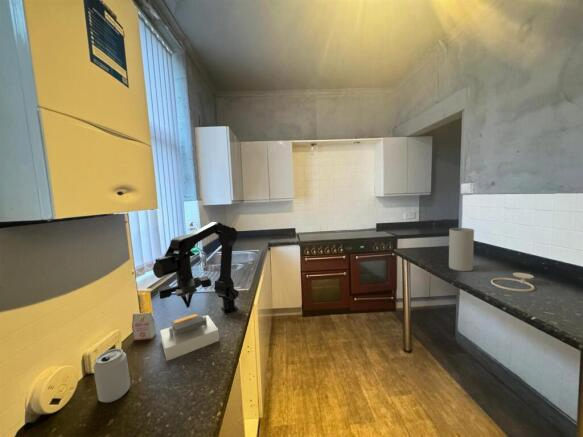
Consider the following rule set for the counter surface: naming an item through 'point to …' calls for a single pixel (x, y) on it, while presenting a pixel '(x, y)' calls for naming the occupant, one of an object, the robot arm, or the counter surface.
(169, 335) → the breaker housing
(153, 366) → the counter surface
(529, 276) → the hand towel holder
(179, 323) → the rocker switch
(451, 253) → the cylinder vase
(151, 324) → the printed cardboard box
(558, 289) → the counter surface
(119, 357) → the can
